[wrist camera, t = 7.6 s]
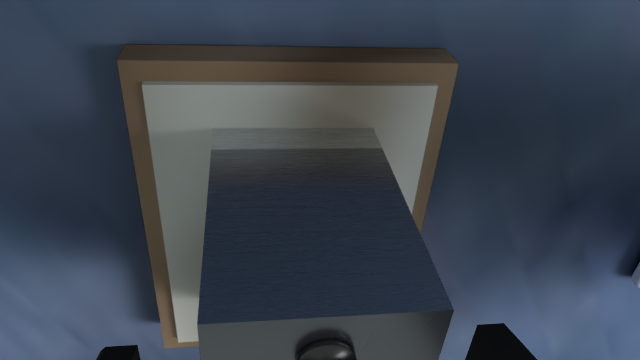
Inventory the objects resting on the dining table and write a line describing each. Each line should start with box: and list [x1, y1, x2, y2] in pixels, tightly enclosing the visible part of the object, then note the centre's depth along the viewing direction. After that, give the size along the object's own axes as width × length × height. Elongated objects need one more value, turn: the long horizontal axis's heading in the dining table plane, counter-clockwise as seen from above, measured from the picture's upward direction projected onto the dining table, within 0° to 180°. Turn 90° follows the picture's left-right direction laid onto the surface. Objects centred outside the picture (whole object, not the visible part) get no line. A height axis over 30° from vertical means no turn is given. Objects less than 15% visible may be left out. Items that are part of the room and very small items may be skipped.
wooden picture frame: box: [117, 44, 459, 348], centre depth 15 cm, size 8×10×1 cm
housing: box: [197, 128, 454, 360], centre depth 12 cm, size 4×6×6 cm, turn 176°
